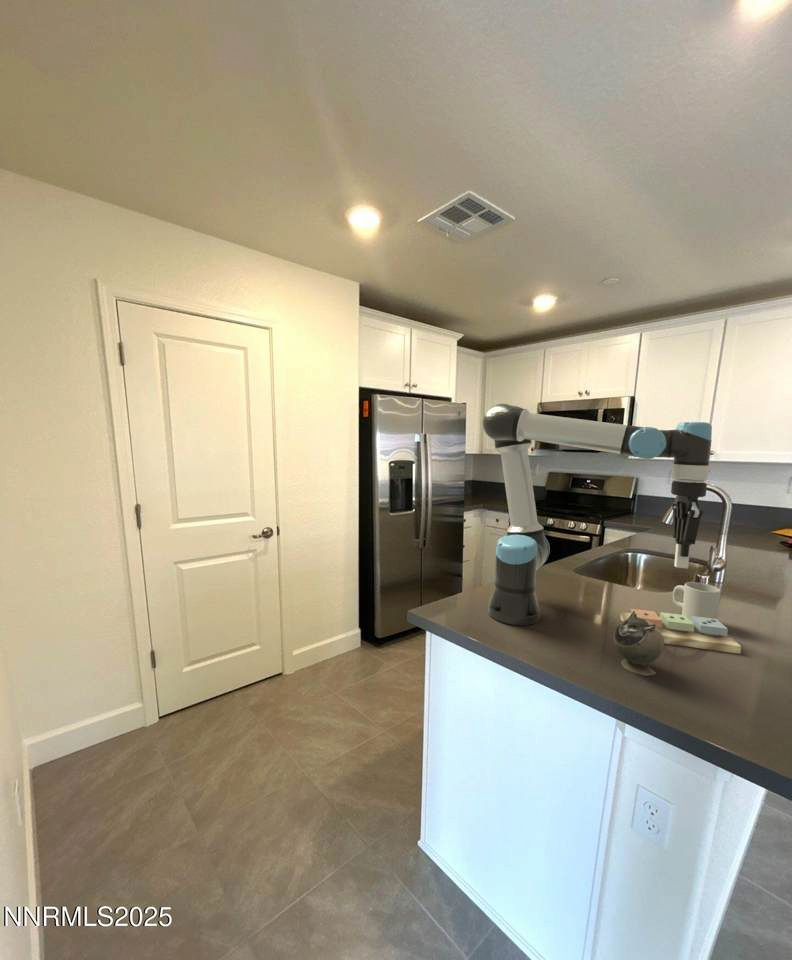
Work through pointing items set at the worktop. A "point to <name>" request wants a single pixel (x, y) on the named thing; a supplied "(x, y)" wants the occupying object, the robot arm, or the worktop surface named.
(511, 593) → the robot arm
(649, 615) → the terracotta tile
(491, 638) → the worktop surface
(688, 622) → the sage tile
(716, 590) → the mug
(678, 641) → the board
